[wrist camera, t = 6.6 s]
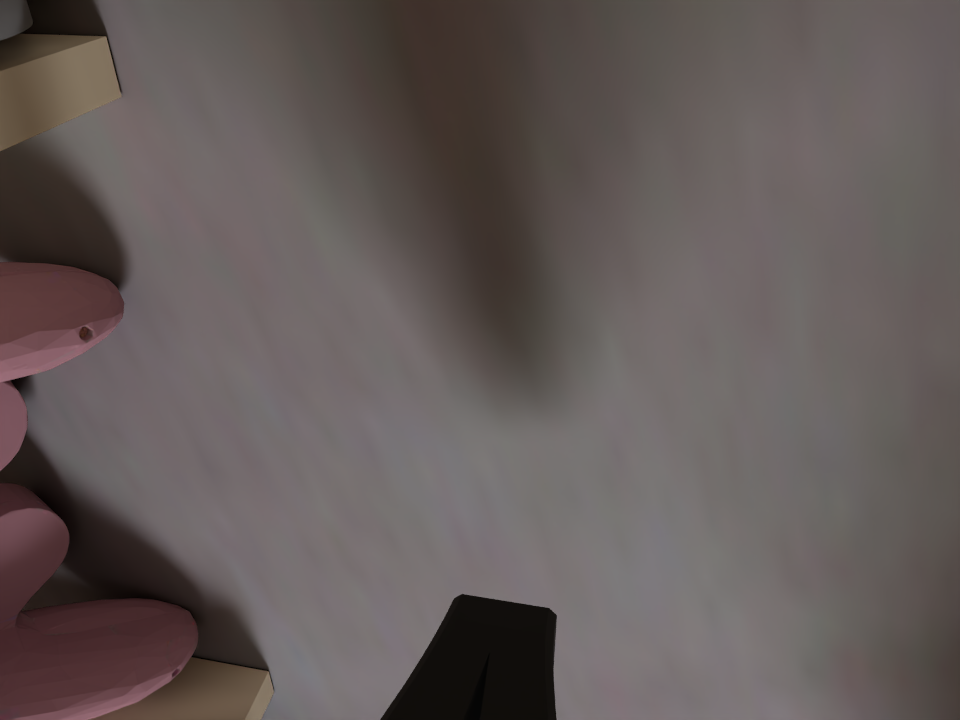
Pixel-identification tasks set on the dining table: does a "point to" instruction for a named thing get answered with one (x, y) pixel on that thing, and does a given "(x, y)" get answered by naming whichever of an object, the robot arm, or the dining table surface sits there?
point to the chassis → (26, 113)
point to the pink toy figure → (65, 530)
